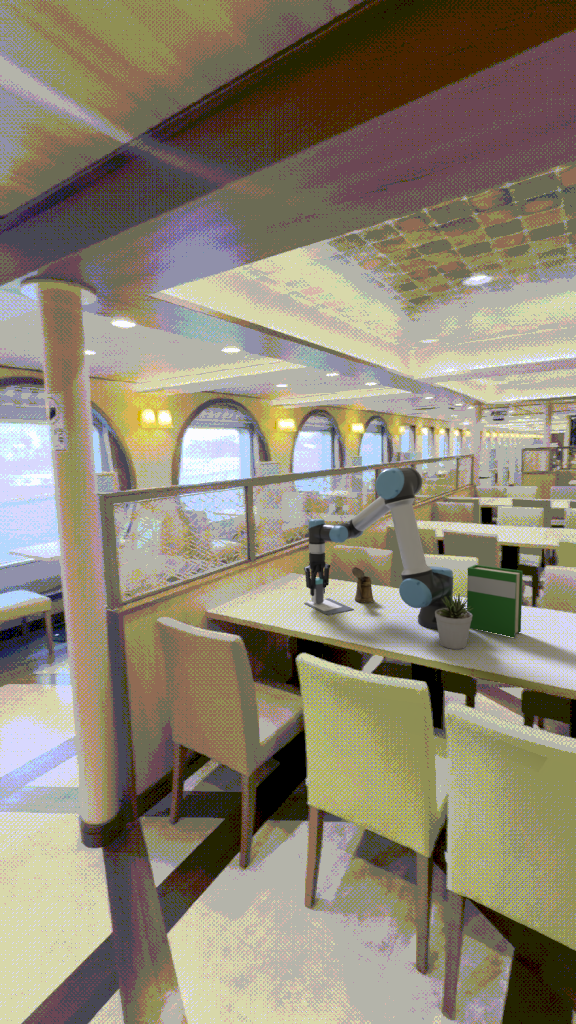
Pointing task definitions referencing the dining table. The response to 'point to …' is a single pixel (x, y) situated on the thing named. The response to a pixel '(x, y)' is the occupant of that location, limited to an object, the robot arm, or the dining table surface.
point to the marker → (319, 590)
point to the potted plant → (453, 623)
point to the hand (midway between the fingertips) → (317, 601)
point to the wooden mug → (363, 587)
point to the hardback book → (495, 599)
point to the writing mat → (329, 606)
